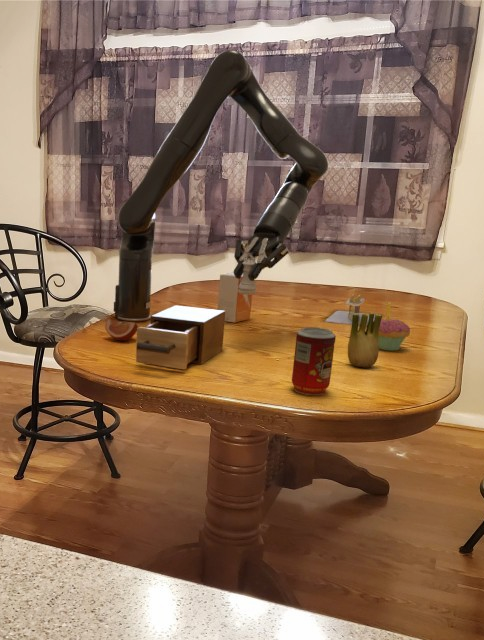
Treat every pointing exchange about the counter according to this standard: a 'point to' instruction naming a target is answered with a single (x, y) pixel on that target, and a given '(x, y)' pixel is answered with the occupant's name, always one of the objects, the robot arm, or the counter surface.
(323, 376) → the red food can
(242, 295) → the small box
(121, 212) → the robot arm
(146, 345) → the drawer
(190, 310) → the cabinet
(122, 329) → the fruit slice
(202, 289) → the counter surface
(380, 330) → the cupcake
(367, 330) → the fennel bulb
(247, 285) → the rook chess piece
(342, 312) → the platform
